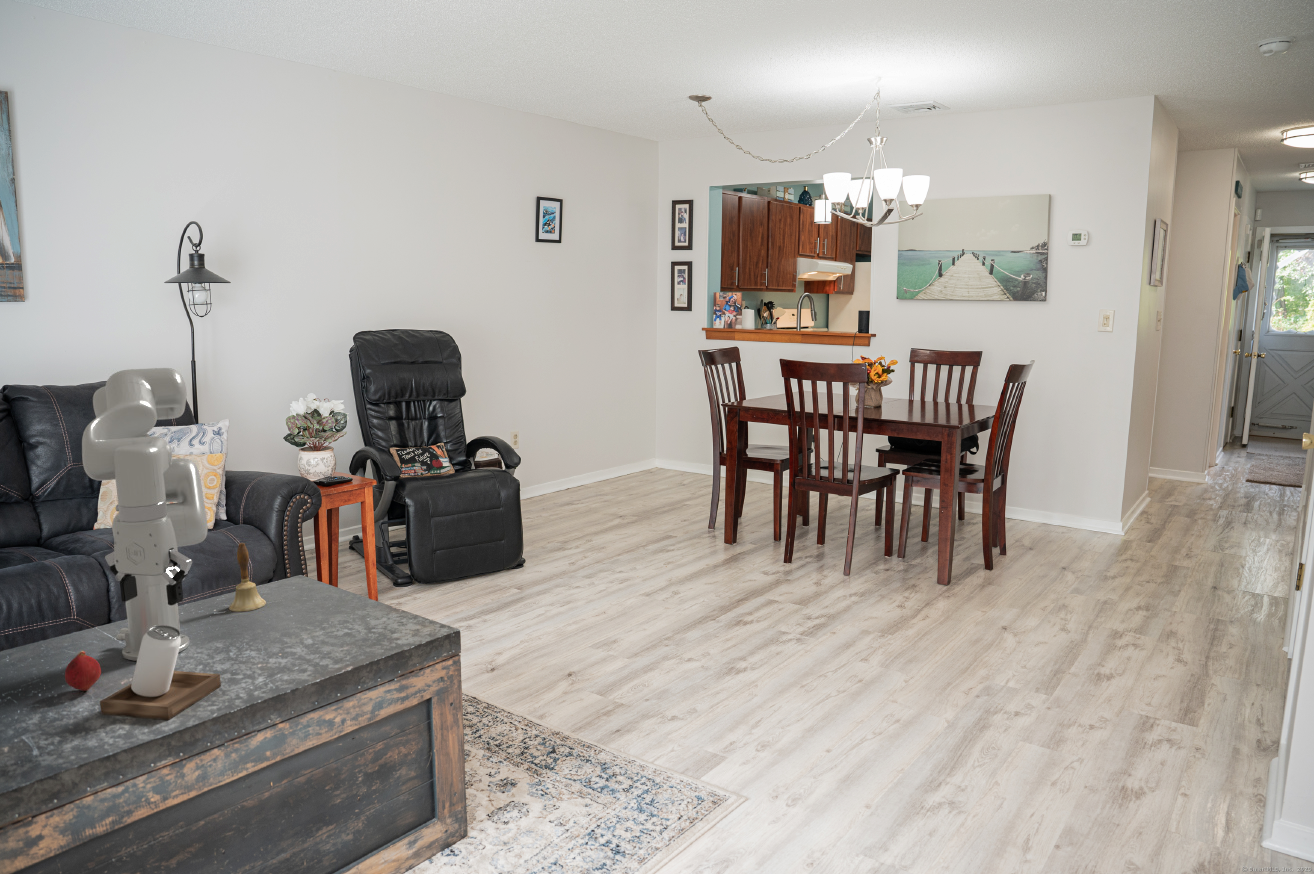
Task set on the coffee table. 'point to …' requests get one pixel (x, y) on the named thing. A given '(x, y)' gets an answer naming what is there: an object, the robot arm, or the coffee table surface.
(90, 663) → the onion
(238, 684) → the coffee table surface
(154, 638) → the can
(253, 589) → the hand bell
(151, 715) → the tray
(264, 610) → the coffee table surface
